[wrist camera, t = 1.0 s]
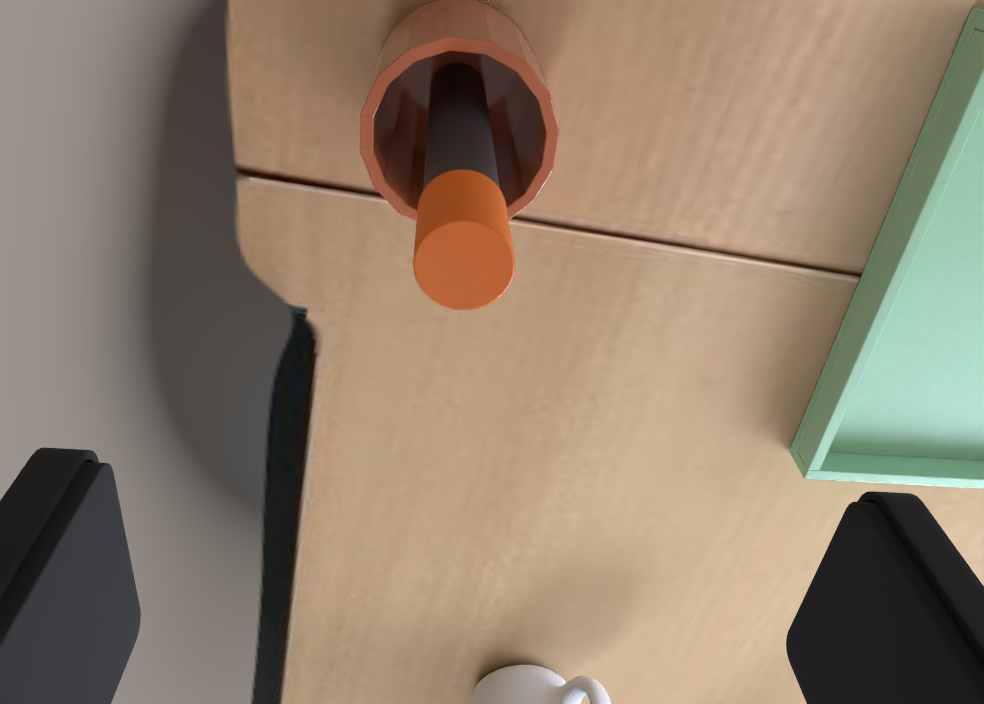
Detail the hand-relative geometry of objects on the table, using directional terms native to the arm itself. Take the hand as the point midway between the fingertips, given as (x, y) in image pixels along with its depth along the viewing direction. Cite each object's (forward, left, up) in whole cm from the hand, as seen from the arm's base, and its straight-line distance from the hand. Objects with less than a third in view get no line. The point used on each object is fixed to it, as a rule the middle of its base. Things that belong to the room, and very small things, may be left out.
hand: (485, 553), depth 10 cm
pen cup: (0, 0, -23) cm, 23 cm away
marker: (0, 0, -22) cm, 22 cm away
